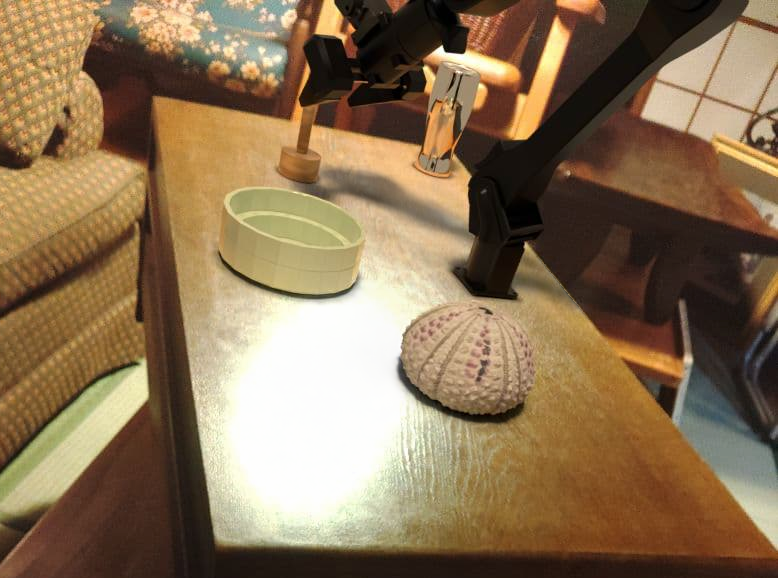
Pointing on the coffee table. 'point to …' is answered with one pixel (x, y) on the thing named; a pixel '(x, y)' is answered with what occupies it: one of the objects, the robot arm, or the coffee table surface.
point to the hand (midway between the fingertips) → (325, 103)
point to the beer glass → (447, 116)
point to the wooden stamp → (301, 153)
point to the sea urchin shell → (469, 357)
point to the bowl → (291, 240)
